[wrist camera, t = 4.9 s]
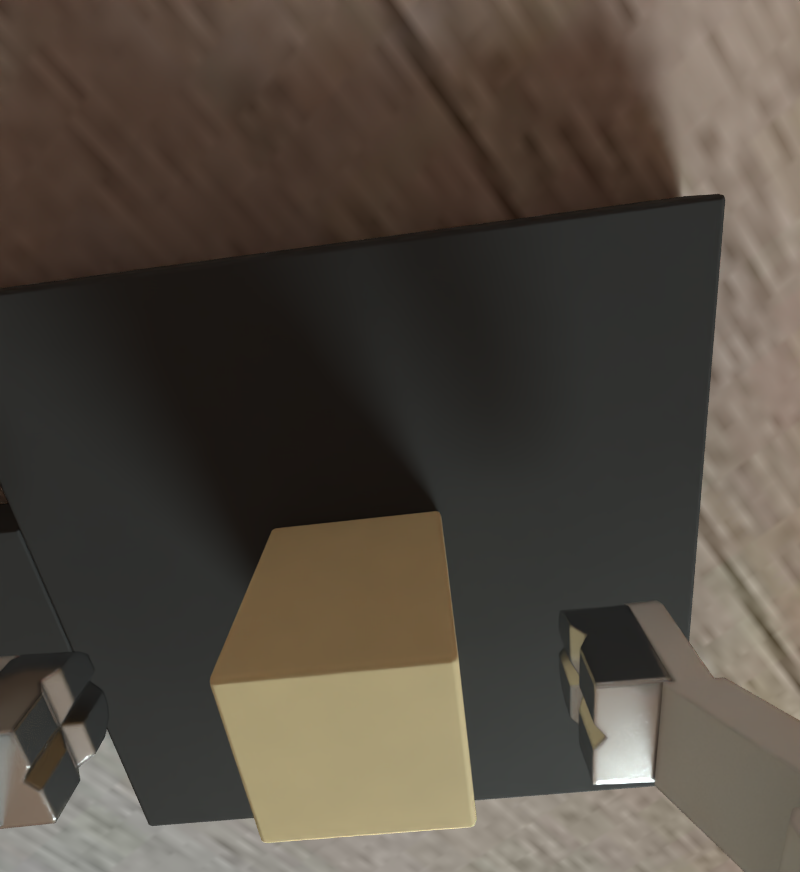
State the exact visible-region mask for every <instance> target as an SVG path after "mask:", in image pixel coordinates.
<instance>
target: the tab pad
mask: <svg viewBox="0 0 800 872" xmlns="http://www.w3.org/2000/svg"><path fill="white" fill-rule="evenodd" d="M724 207H725V198H724V196H723V195H720V194H713V195H697V196H684V197H676V198H669V199H661V200H654V201H646V202H639V203H632V204H624V205H617V206H609V207H602V208H594V209H587V210H579V211H572V212H565V213H557V214H550V215H542V216H535V217H527V218H520V219H513V220H505V221H498V222H490V223H483V224H475V225H468V226H461V227H453V228H446V229H438V230H431V231H423V232H416V233H408V234H401V235H394V236H386V237H379V238H371V239H364V240H356V241H349V242H342V243H334V244H327V245H319V246H312V247H304V248H297V249H290V250H282V251H275V252H267V253H260V254H252V255H245V256H237V257H230V258H223V259H215V260H208V261H200V262H193V263H185V264H178V265H171V266H163V267H156V268H148V269H141V270H133V271H126V272H119V273H111V274H104V275H96V276H89V277H81V278H74V279H67V280H59V281H52V282H44V283H37V284H29V285H22V286H14V287H7V288H0V485H1V487H2V489H3V491H4V494H5V496H6V498H7V501H8V503H9V504H3V505H0V656H20V655H24V654H40V653H57V652H73V651H80V652H83V653H87V654H88V655H89V657H90V659H91V661H92V663H93V665H94V668H95V672H94V674H93V676H92V679H91V682H93V683H94V684H95V685H97V686H98V687H99V688H101V689H102V690H103V691H104V693H105V696H106V698H107V701H108V708H109V720H108V725H107V730H108V732H109V734H110V737H111V739H112V741H113V743H114V746H115V748H116V750H117V753H118V755H119V757H120V759H121V762H122V764H123V766H124V769H125V771H126V773H127V775H128V778H129V780H130V782H131V785H132V787H133V789H134V792H135V794H136V796H137V798H138V801H139V803H140V805H141V808H142V810H143V812H144V814H145V817H146V819H147V821H148V824H149V825H151V826H158V825H171V824H183V823H196V822H208V821H221V820H234V819H246V818H254V819H255V822H256V825H257V828H258V831H259V834H260V837H261V840H262V841H263V842H266V843H272V842H285V841H297V840H310V839H323V838H336V837H349V836H362V835H375V834H388V833H401V832H414V831H427V830H440V829H453V828H466V827H472V826H474V825H475V823H476V819H477V818H476V809H475V800H485V799H498V798H510V797H523V796H535V795H548V794H560V793H573V792H586V791H598V790H611V789H623V788H636V787H648V786H655V785H654V784H655V782H643V783H619V784H595V785H593V783H592V780H591V777H590V774H589V771H588V768H587V765H586V762H585V760H584V757H583V754H582V751H581V748H580V745H579V724H578V723H577V722H575V721H574V720H573V719H572V718H570V716H569V713H568V709H567V706H566V703H565V699H564V695H563V691H562V686H561V679H560V672H559V653H560V652H561V650H562V649H563V648H564V644H563V642H562V639H561V636H560V634H559V614H560V610H571V609H582V608H593V607H603V606H614V605H624V604H627V603H636V602H645V601H655V600H657V601H659V602H660V603H662V604H663V605H664V607H665V608H666V610H667V611H668V613H669V614H670V615H671V617H672V618H673V620H674V621H675V623H676V624H677V626H678V627H679V628H680V630H681V631H682V633H683V634H684V636H685V637H686V638H687V640H688V641H689V635H690V623H691V610H692V598H693V586H694V574H695V561H696V549H697V537H698V525H699V513H700V500H701V488H702V476H703V464H704V452H705V439H706V427H707V415H708V403H709V390H710V378H711V366H712V354H713V342H714V329H715V317H716V305H717V293H718V281H719V268H720V256H721V244H722V232H723V219H724Z"/></svg>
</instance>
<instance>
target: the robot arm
mask: <svg viewBox="0 0 800 872" xmlns="http://www.w3.org/2000/svg"><path fill="white" fill-rule="evenodd" d="M559 634H560V636H561V639H562V642H563V644H564V648H563V649H562V650H561V652H560V653H559V672H560V679H561V686H562V691H563V695H564V699H565V703H566V706H567V709H568V713H569V716H570V718H572V719H573V720H574V721H575V722H577V723H578V724H579V745H580V748H581V751H582V754H583V757H584V760H585V762H586V765H587V768H588V771H589V774H590V777H591V780H592V783H593V785H595V784H619V783H643V782H655V784H654V785H655V786H656V787H657V788H658V789H659V790H660V791H661V792H662V793H663V794H664V795H665V796H666V797H667V798H668V799H669V800H670V801H671V802H672V803H673V804H674V805H675V806H677V807H678V808H679V809H680V810H681V811H682V812H683V813H684V814H685V815H686V816H687V817H688V818H689V819H690V820H691V821H692V822H693V823H694V824H695V825H696V826H697V827H698V828H699V829H700V830H701V831H703V832H704V833H705V834H706V835H707V836H708V837H709V838H710V839H711V840H712V841H713V842H714V843H715V844H716V845H717V846H718V847H719V848H720V849H721V850H722V851H723V852H724V853H725V854H726V855H727V856H729V857H730V858H731V859H732V860H733V861H734V862H735V863H736V864H737V865H738V866H739V867H740V868H741V869H742V870H743V871H744V872H800V721H799V720H798V719H796V718H794V717H792V716H791V715H789V714H787V713H785V712H784V711H782V710H780V709H778V708H777V707H775V706H773V705H772V704H770V703H768V702H766V701H765V700H763V699H761V698H759V697H758V696H756V695H754V694H752V693H751V692H749V691H747V690H745V689H744V688H742V687H740V686H738V685H737V684H735V683H733V682H731V681H730V680H728V679H726V678H714V677H713V676H712V675H711V673H710V672H709V670H708V669H707V667H706V666H705V664H704V663H703V662H702V660H701V659H700V657H699V656H698V654H697V653H696V651H695V650H694V649H693V647H692V646H691V644H690V643H689V641H688V640H687V638H686V637H685V636H684V634H683V633H682V631H681V630H680V628H679V627H678V626H677V624H676V623H675V621H674V620H673V618H672V617H671V615H670V614H669V613H668V611H667V610H666V608H665V607H664V605H663V604H662V603H660V602H659V601H657V600H655V601H645V602H636V603H627V604H624V605H614V606H603V607H593V608H582V609H571V610H560V614H559ZM94 672H95V668H94V665H93V663H92V661H91V659H90V657H89V655H88V654H87V653H83V652H80V651H73V652H57V653H40V654H24V655H20V656H0V829H3V828H13V827H23V826H32V825H42V824H52V823H56V821H57V819H58V818H59V816H60V814H61V813H62V811H63V809H64V807H65V806H66V804H67V802H68V801H69V799H70V797H71V795H72V794H73V792H74V790H75V788H76V787H77V785H78V783H79V782H80V775H79V769H78V767H80V766H81V765H82V764H83V763H85V762H86V761H87V760H88V759H90V758H91V757H92V756H93V755H94V754H96V752H97V750H98V748H99V746H100V745H101V743H102V741H103V739H104V737H105V734H106V729H107V725H108V720H109V708H108V701H107V698H106V696H105V693H104V691H103V690H102V689H101V688H99V687H98V686H97V685H95V684H94V683H93V682H91V679H92V676H93V674H94Z"/></svg>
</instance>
